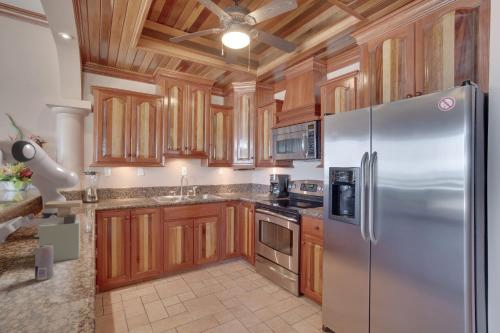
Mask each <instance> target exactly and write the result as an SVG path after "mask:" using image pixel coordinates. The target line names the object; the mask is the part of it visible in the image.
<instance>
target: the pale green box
mask: <svg viewBox="0 0 500 333" xmlns="http://www.w3.org/2000/svg"><path fill="white" fill-rule="evenodd" d="M38 238H39V239H38V240H39V241H38V243H39V245H38V246H40V245H44V244H52V245H53V263H57V262H62V261H69V260H76V259H77V260H78V259H79V258H80V254H81V251H80V243H81V219H76V222H75V223H72V224H64V223H60V224H48V225H41V226H40V227H39V237H38Z"/></svg>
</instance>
